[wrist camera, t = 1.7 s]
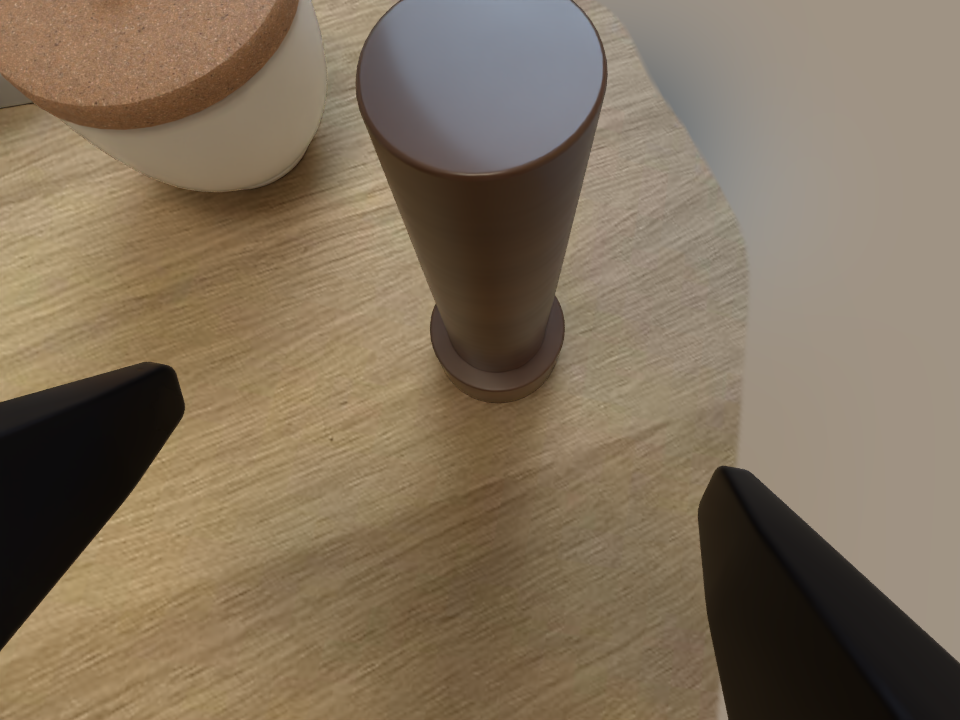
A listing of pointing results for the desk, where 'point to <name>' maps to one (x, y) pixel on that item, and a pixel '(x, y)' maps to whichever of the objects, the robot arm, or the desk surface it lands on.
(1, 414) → the robot arm
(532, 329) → the pestle
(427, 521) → the desk surface
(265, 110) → the trinket box
